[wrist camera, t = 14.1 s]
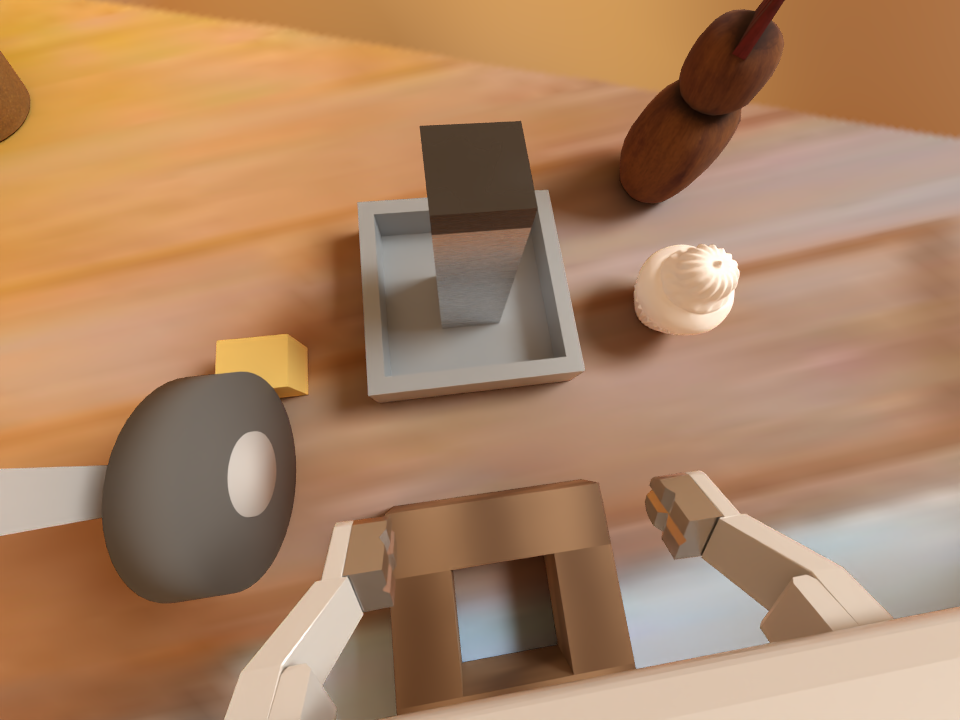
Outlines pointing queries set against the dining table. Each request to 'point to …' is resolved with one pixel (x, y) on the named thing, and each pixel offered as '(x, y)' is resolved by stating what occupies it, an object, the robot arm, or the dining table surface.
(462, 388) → the tray
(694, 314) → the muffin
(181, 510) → the grey disc with lever
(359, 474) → the dining table surface
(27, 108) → the plant pot
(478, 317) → the pin
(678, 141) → the wooden figurine
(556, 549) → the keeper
